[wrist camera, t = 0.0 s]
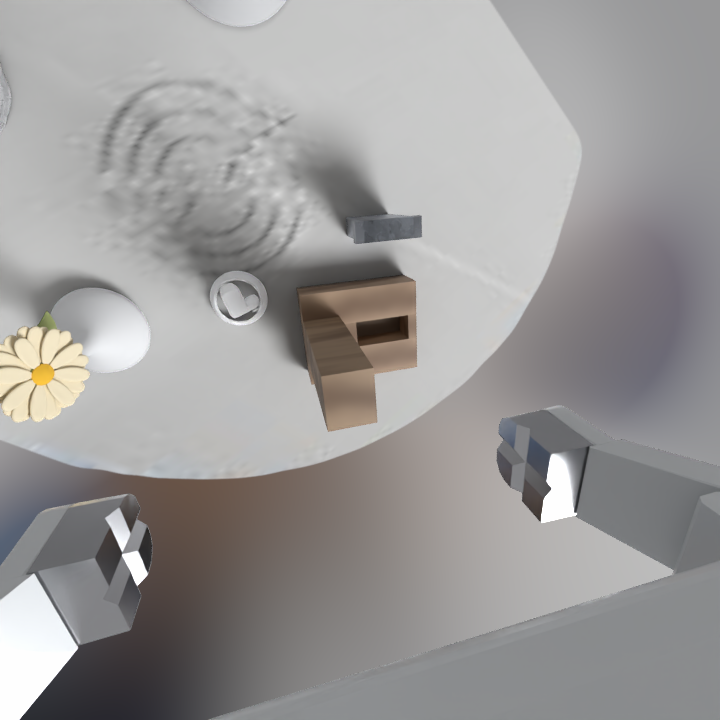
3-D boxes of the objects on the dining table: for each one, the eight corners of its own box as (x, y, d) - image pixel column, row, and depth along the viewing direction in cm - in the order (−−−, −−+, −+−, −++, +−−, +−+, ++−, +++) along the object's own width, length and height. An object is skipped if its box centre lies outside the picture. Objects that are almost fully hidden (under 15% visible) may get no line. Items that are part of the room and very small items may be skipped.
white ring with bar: (235, 228, 45) (267, 274, 44) (253, 275, 57) (279, 312, 56) (177, 260, 44) (209, 308, 43) (207, 301, 55) (234, 339, 54)
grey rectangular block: (338, 218, 52) (354, 221, 43) (394, 213, 54) (421, 215, 45) (340, 236, 53) (356, 243, 44) (395, 231, 55) (421, 237, 46)
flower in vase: (140, 378, 54) (52, 503, 32) (46, 350, 50) (-131, 471, 28) (168, 294, 51) (94, 368, 29) (71, 257, 47) (-107, 309, 24)
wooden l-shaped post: (296, 287, 54) (316, 340, 34) (403, 274, 57) (482, 316, 37) (308, 370, 60) (331, 460, 39) (405, 354, 62) (476, 431, 42)
